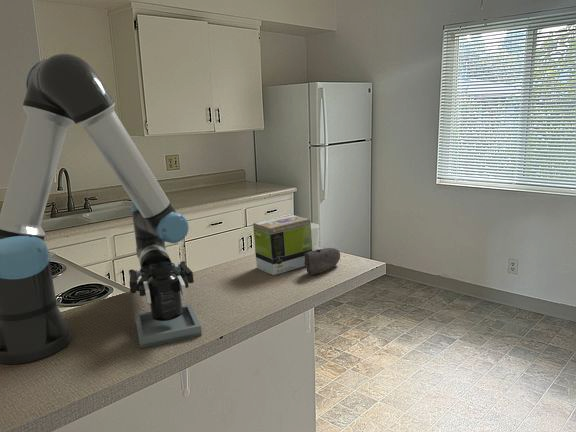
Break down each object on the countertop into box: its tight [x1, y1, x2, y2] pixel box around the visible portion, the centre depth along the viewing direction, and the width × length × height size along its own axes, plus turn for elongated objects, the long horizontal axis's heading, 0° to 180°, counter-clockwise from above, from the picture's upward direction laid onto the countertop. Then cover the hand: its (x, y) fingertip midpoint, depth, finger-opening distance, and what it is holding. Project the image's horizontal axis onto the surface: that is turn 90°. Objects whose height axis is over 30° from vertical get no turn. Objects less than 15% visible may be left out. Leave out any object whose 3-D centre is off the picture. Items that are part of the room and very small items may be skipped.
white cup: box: [310, 222, 320, 251], centre depth 155 cm, size 8×8×10 cm
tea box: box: [252, 214, 312, 276], centre depth 145 cm, size 15×10×15 cm, turn 124°
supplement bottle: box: [148, 262, 183, 321], centre depth 106 cm, size 7×7×12 cm
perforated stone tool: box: [304, 247, 341, 276], centre depth 140 cm, size 15×5×7 cm, turn 132°
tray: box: [134, 304, 203, 349], centre depth 107 cm, size 13×13×2 cm
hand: (166, 294), depth 101 cm, fingers closed on supplement bottle, 7 cm apart
